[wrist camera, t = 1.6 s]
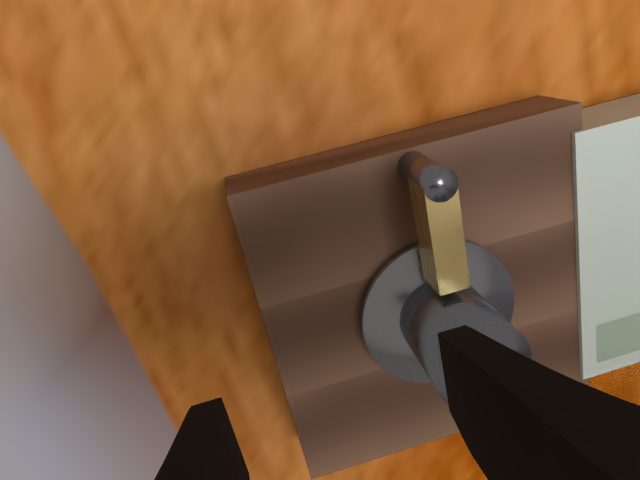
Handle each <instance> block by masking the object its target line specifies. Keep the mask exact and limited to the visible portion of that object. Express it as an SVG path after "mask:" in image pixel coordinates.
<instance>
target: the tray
mask: <svg viewBox="0 0 640 480" xmlns="http://www.w3.org/2000/svg"><path fill="white" fill-rule="evenodd" d="M571 133H572V161H573V189H574V217H575V245H576V273H577V301H578V329H579V357H580V377H581V378H582V379H583V380H584V379H587V378H590V377H594V376H597V375H600V374H603V373H606V372H610V371H613V370H616V369H619V368H622V367H626V366H629V365H632V364H635V363H638V362H640V93H638V94H634V95H631V96H627V97H623V98H619V99H616V100H612V101H608V102H604V103H601V104H597V105H593V106H589V107H585V108H582V130H578V131H575V132H571Z"/></svg>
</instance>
